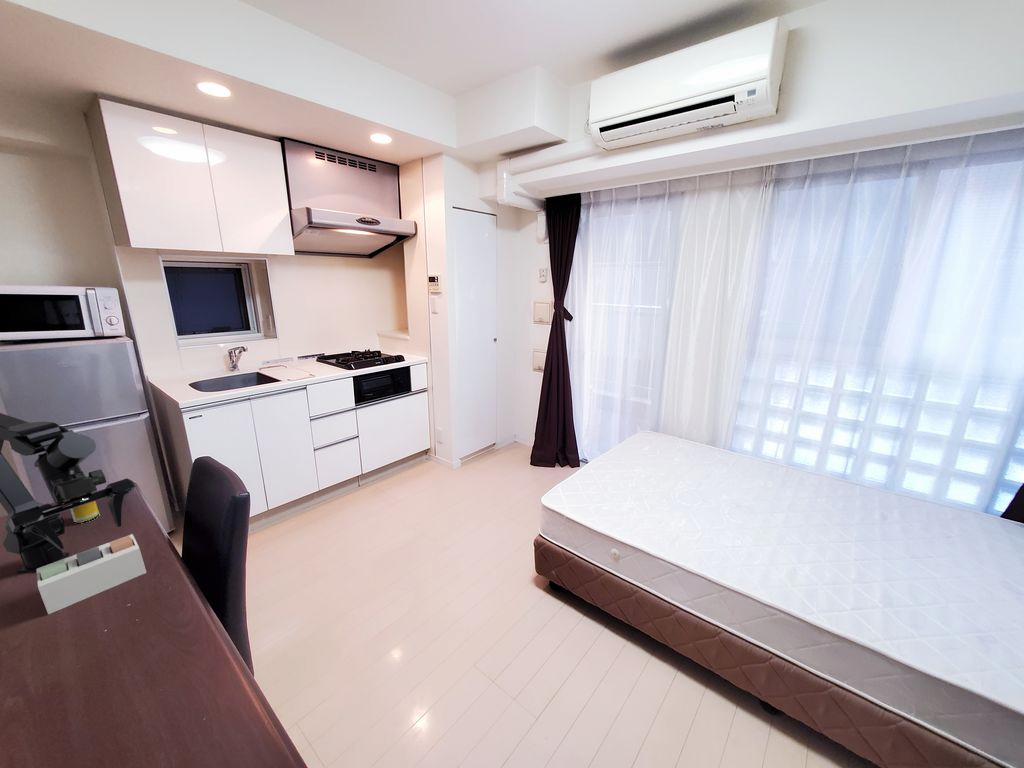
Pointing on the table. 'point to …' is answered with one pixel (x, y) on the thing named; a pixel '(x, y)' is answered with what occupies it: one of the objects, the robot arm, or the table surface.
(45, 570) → the sage-green button
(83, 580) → the button console
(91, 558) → the charcoal button
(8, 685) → the table surface
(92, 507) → the supplement bottle
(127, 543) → the terracotta button
